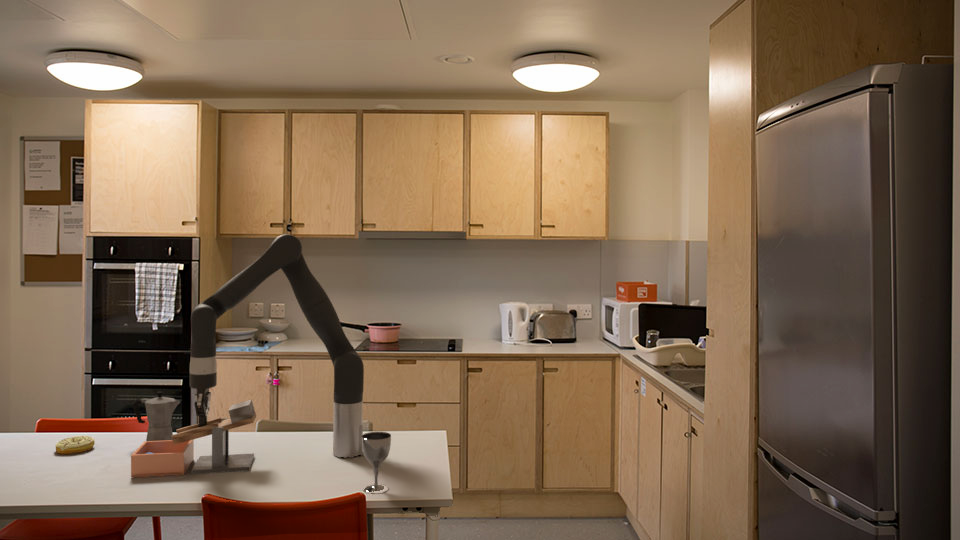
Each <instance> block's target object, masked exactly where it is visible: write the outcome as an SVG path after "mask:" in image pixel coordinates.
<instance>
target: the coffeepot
mask: <svg viewBox="0 0 960 540" xmlns="http://www.w3.org/2000/svg"><path fill="white" fill-rule="evenodd" d="M156 393H157V397H153V398H141V397H140V398H136V399H135V400H134V402H132V408H133V410H134V411H133V412H134V413H135V416H136V419H137V422H138V424H145V423H146V420H143V419H142V414H141V411H140V406H139V405H142V406H143V405H144V406H145V411H146V417H147V422H148V427H147V434H146V439H145V440H146V441H163V440H173V439H172V435H174V434H173V428H172V419H173V413H174V411H175V409H176V408H177V406H178V405H179V404H180V403H181V401H180V400H178V399H175V398H173V397H166V396H162V395H163V391H157V392H156Z"/></svg>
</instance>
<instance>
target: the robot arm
mask: <svg viewBox="0 0 960 540" xmlns="http://www.w3.org/2000/svg"><path fill="white" fill-rule="evenodd" d="M280 269H281V271H282V272H283V273H284V275H285V277H286V278H287V280H288V281H289V284H290V287H291V288H292V291H293V294H294V297H295V299H296V301H297V303H298V306H299V307H300V309H301V311H302V313H303V315H304V317H305V319H306V320H307V322H308V324H309V325H310V327H311V328H312V330H313V332H314V333H315V334H316V335H317V337H318V338H319V339H320V340H321V342H322V343H323V345H324V346H325V348H326V350H327V353H328V355H329V358H330V361H331V362H332V363H331V364H332V365H333V418H332V419H333V425H332V426H333V427H332V429H333V430H332V432H333V433H332V435H333V436H332V438H333V440H332V441H333V442H332V446H333V447H332V450H333V451H332V455H333V456H334V457H336V456H337V458H341V457H344V459H345V458H346V459H347V457H349V458H354V456H356V457H359V456H358V455H361V456H363V448H362V435H363V434H364V433H363V431H364V429H363V427H364V426H363V402H364V401H363V400H364V397H363V396H364V382H365V381H364V379H365V377H364V374H365V372H364V371H365V370H364V369H365V368H364V361H363V360H362V358H361V356H360V354H359V353H358V352H357V350H356V349H355V348H354V346H353V345H352V343H351V342H350V340H349V338H348V337H347V336H346V333H345V331H344V329H343V327H342V324H341V321H340V318H339V316H338V314H337V313H338V312H337V311H336V308H335V307H334V305H333V303H332V301H331V299H330V297H329V296H328V293H327V292H326V290H325V289H324V288H323V287H322V285H321V284H320V282H319V281H318V280H317V279H316V277H315V276H314V274H312V272H311V270H310V269H309V265H308V264H307V262H306V259H305V257H304V255H303V246H302V243H301V240H300V239H299V238H298V237H296V236H295V235H293V234H289V233H285V234H281V235H278V236H277V237H275V238H274V239H273V241H272V242H271V244H270V246H269V247H268V248H267V250H266V251H264V253H263V254H262V255H261V256H260V257H259V258H257V259H256V260H255V261H254V262H252V264H250V265H249V266H247V267H246V268H244V269H243V270H242V271H240V272H239V273H237V274H235V276H234V277H232V278H231V279H230V280H228V281H226V282H225V283H224V284H223V285H222V286H220V288H219V289H217V291H216V292H214V293H213V294H212V295H211V296H209V297H208V298H206V299H204V300H203V301H201V303H199V304H198V305H196V306H195V307H194V308H193V309H192V312H191V315H190V327H191V328H190V330H191V341H190V362H189V388H191V389H196V393H195V394H194V400H195V401H194V409H195V415H196V416H197V417H198V423H197V424H198V428H199V427H203V426H206V425H207V421H208V416H209V412H210V407H211V406H210V405H211V400H212V399H211V398H212V391H210V389H212V388H215V387H216V386H217V384H218V382H217V381H218V380H217V379H218V376H217V375H218V371H217V369H218V363H217V361H218V360H217V341H216V335H217V334H216V331H217V320H218V319H219V318H220V317H221V316H223V315H224V314H225V313H226V312H228V311H229V310H231V309H233V308H235V307H236V306H237V305H238V304H240V303H241V302H242V301H244V299H245V298H247V297H249V295H250V294H251V293H252V292H254V291H255V289H257V288H258V287H259V286H260V285H261V284H262V283H263V282H265V281H266V280H267V279H268V278H269V277H271V276H272V275H273V274H275V273H277V272H278V271H279V270H280Z"/></svg>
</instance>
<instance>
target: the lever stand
mask: <svg viewBox="0 0 960 540" xmlns="http://www.w3.org/2000/svg"><path fill="white" fill-rule="evenodd" d="M220 418H221V420H222V421H223V420H226V419H230V417H229V418H228V417H224V418H222V417H220ZM229 431H230V429H229V430H226V431H223V427H213V428H212V434H211V455H201V456H199V457H198V458H197V461H196V462H195V463H194V466H192V468H191V470H190V471H191V472H190V473H191V475H193V474H192V473H202V474H219V473H235V472H249V471H250V469H251V466H252V464H253V461H254V459H255V453H238V454H234V453H233V454H230V453H229V452H230V450H229V447H230V446H229V445H230V444H229V442H230V441H229V440H230V439H229V438H230V432H229Z"/></svg>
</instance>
